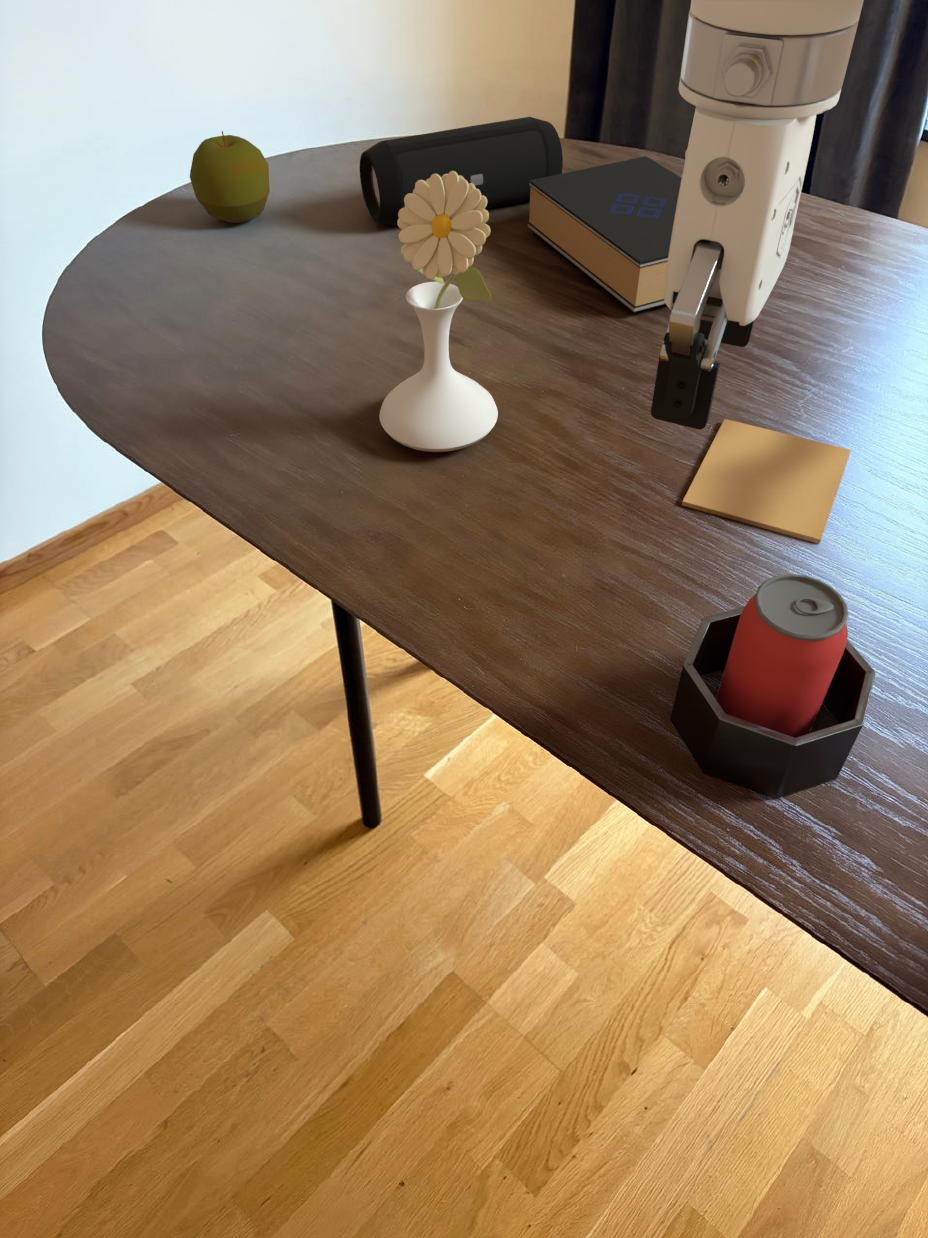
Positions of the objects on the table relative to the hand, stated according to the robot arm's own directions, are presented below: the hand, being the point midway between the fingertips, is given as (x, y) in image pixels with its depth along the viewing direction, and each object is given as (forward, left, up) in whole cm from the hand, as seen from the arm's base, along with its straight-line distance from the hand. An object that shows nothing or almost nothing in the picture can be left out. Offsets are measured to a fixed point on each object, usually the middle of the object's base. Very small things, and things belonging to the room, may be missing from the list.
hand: (701, 378), depth 56 cm
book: (+21, -60, -22) cm, 67 cm away
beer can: (-10, +5, -22) cm, 25 cm away
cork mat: (-4, -23, -22) cm, 32 cm away
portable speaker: (+47, -64, -22) cm, 82 cm away
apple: (+73, -49, -22) cm, 91 cm away
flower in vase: (+26, -17, -22) cm, 38 cm away
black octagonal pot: (-10, +5, -22) cm, 25 cm away
